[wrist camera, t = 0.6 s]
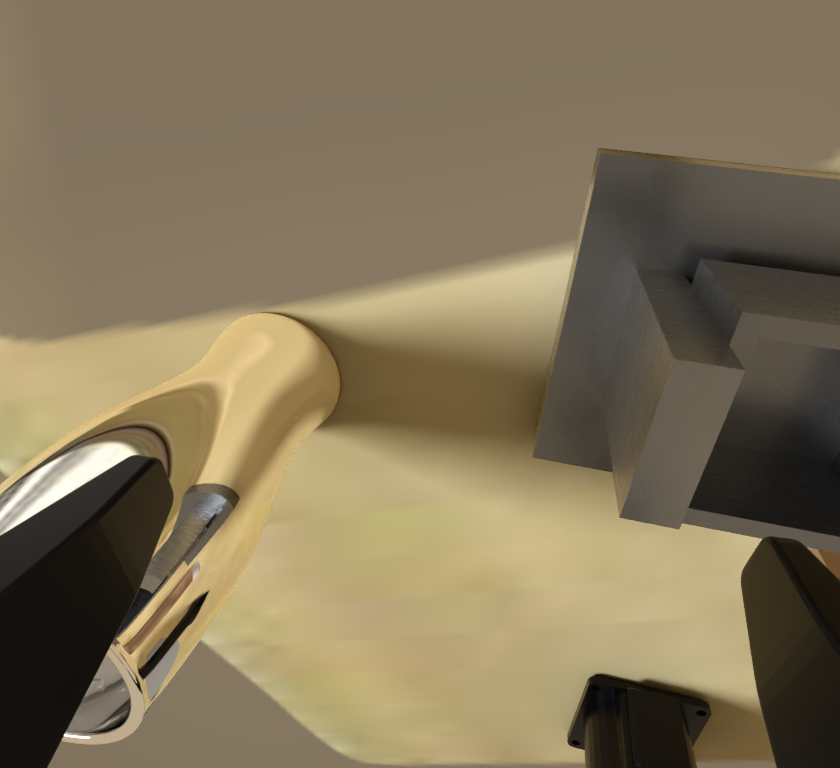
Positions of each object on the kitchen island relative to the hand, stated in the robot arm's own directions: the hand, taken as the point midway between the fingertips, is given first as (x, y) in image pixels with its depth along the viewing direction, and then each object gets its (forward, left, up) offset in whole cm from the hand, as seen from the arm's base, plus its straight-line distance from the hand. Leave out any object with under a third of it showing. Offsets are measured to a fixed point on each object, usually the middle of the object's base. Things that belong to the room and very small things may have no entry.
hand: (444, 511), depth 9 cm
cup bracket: (-2, -8, -15) cm, 17 cm away
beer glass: (-7, +10, -15) cm, 19 cm away
